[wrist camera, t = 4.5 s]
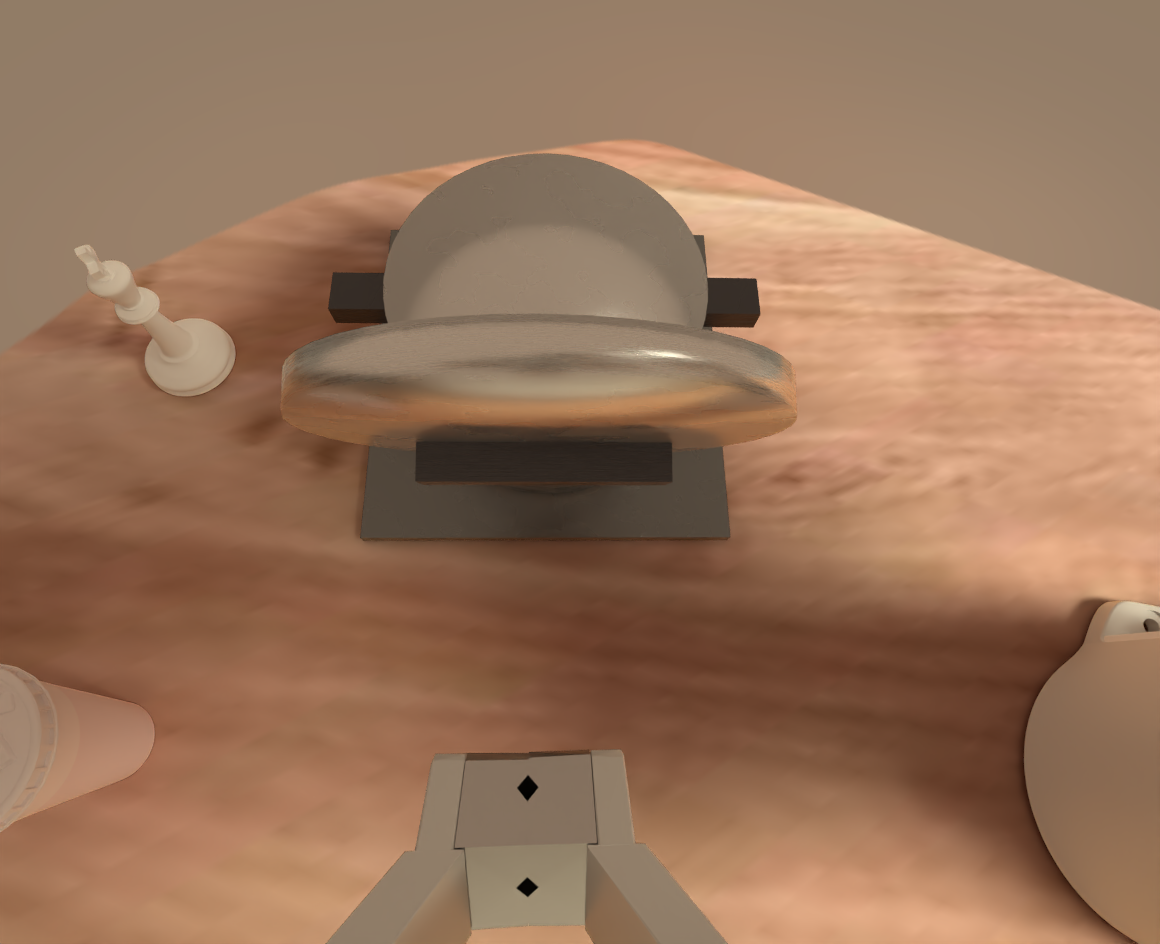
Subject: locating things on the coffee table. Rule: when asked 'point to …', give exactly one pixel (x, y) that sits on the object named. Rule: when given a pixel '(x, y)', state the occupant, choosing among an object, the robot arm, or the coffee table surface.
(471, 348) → the pot lid
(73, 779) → the smoothie
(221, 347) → the chess piece
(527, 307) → the steel pot
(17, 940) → the coffee table surface
